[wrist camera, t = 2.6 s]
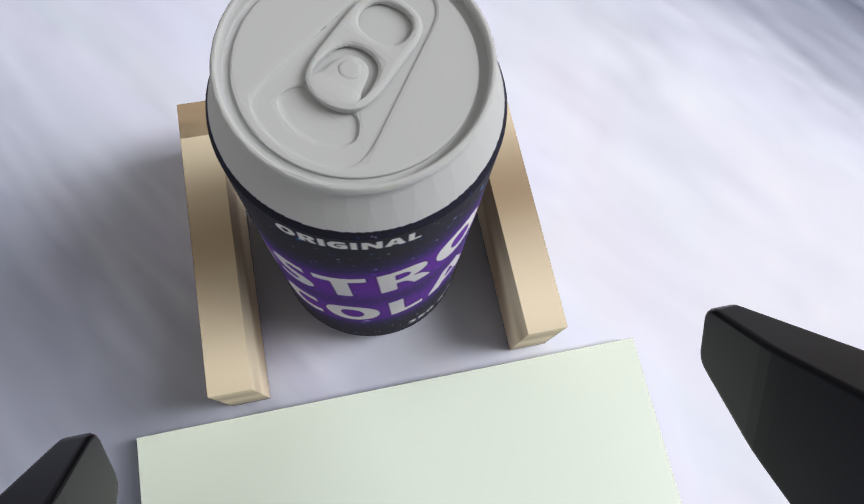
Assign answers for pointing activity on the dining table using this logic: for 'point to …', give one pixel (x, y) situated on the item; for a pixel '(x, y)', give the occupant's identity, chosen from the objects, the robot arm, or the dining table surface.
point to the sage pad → (436, 442)
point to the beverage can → (358, 145)
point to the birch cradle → (234, 276)
